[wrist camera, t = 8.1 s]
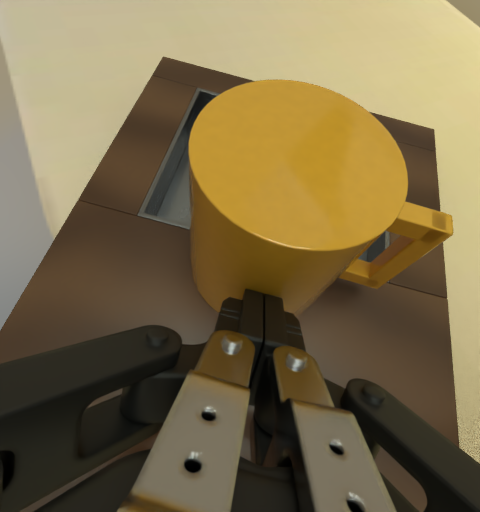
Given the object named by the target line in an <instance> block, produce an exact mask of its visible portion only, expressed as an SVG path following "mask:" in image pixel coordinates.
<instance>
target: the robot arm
mask: <svg viewBox="0 0 480 512" xmlns="http://www.w3.org/2000/svg"><path fill="white" fill-rule="evenodd" d="M122 388H123V389H122ZM119 389H122V394H120V395H118V396H115V397H113V398H110V399H108V400H106V401H103V402H101V403H99V404H96V405H94V406H91V407H89V408H87V407H88V406H89V405H90V404H91V403H92V402H93V401H94V400H96V399H98V398H100V397H102V396H104V395H107V394H109V393H112V392H114V391H117V390H119ZM248 405H251V406H254V413H253V416H252V419H251V422H250V427H249V430H250V456H251V461H249V460H247V459H245V458H243V457H241V456H240V451H241V445H242V439H243V433H244V427H245V421H246V415H247V409H248ZM86 408H87V409H86ZM160 429H161V430H160ZM159 430H160V432H159V434H158V436H157V439H156V441H155V443H154V445H153V447H152V449H148V450H143V451H139V452H136V453H133V454H130V455H127V456H125V457H123V458H120V459H118V460H116V461H114V462H113V463H111V464H109V465H107V466H106V467H104V468H103V469H101V470H99V471H98V472H96V473H95V474H93V475H91V476H90V477H88V478H87V479H85V480H83V481H82V482H80V483H78V484H77V485H75V486H74V487H72V488H70V489H69V490H67V491H66V492H64V493H62V494H61V495H59V496H58V497H56V498H54V499H53V500H51V501H50V502H48V503H46V504H45V505H43V506H41V507H40V508H38V509H37V510H35V511H33V512H420V511H419V510H417V509H416V508H415V507H414V506H413V505H412V504H411V503H410V502H409V501H408V500H407V499H406V498H405V497H404V496H403V495H402V494H401V493H400V492H399V491H398V490H397V489H396V487H395V486H394V485H393V484H392V483H391V482H390V481H389V480H388V479H387V478H386V477H385V476H384V475H383V474H382V473H381V472H380V471H379V470H378V468H377V466H376V464H375V461H374V460H375V458H376V456H377V454H378V452H379V450H380V448H381V447H382V448H383V449H384V450H385V451H386V452H387V453H388V454H389V455H390V456H391V457H392V458H393V459H395V460H396V461H397V462H398V463H399V464H400V465H401V466H402V467H403V468H404V469H405V470H406V471H407V472H408V473H409V474H410V475H411V476H412V477H414V478H415V479H416V480H417V481H418V482H419V484H420V485H421V486H422V488H423V489H424V492H425V494H426V497H427V506H426V508H425V510H424V511H423V512H480V464H479V463H478V462H477V461H475V460H474V459H473V458H472V457H470V456H469V455H468V454H467V453H465V452H464V451H463V450H461V449H460V448H459V447H458V446H456V445H455V444H454V443H453V442H451V441H450V440H449V439H447V438H446V437H445V436H444V435H442V434H441V433H440V432H439V431H437V430H436V429H435V428H433V427H432V426H431V425H430V424H428V423H427V422H426V421H425V420H423V419H422V418H421V417H420V416H418V415H417V414H416V413H414V412H413V411H412V410H411V409H409V408H408V407H407V406H406V405H404V404H403V403H402V402H400V401H399V400H398V399H397V398H395V397H394V396H393V395H392V394H390V393H389V392H388V391H386V390H385V389H384V388H382V387H381V386H379V385H377V384H375V383H373V382H371V381H368V380H365V379H360V378H354V379H351V380H349V381H348V383H347V385H346V388H344V387H341V386H339V385H337V384H335V383H333V382H331V381H329V380H327V379H325V378H324V377H323V375H322V373H321V370H320V367H319V365H318V363H317V361H316V360H315V359H314V358H313V357H312V356H311V355H310V354H308V353H307V352H306V349H305V344H304V340H303V336H302V331H301V326H300V322H299V320H298V319H297V318H296V317H295V315H294V314H293V313H290V312H286V311H284V305H283V299H282V298H280V297H276V296H272V295H269V294H264V295H263V293H261V292H257V291H253V290H249V289H245V291H244V294H243V298H242V300H240V299H236V298H232V297H228V298H227V299H225V300H224V301H223V302H222V305H221V309H220V312H219V316H218V319H217V323H216V326H215V330H214V333H212V334H211V335H210V337H209V339H208V341H207V342H205V343H202V344H195V345H187V344H182V338H181V336H180V335H179V334H178V333H177V332H176V331H174V330H173V329H171V328H168V327H165V326H161V325H145V326H141V327H137V328H134V329H130V330H126V331H122V332H118V333H115V334H111V335H107V336H103V337H99V338H96V339H92V340H88V341H84V342H80V343H77V344H73V345H69V346H65V347H61V348H58V349H54V350H50V351H46V352H43V353H39V354H35V355H31V356H27V357H24V358H20V359H16V360H12V361H8V362H5V363H1V364H0V512H19V511H21V510H23V509H24V508H26V507H28V506H30V505H31V504H33V503H35V502H37V501H38V500H40V499H42V498H44V497H45V496H47V495H49V494H51V493H52V492H54V491H56V490H58V489H59V488H61V487H63V486H65V485H67V484H68V483H70V482H72V481H74V480H75V479H77V478H79V477H81V476H82V475H84V474H86V473H88V472H89V471H91V470H93V469H95V468H96V467H98V466H100V465H102V464H103V463H105V462H107V461H109V460H110V459H112V458H114V457H116V456H117V455H119V454H121V453H123V452H124V451H126V450H128V449H130V448H131V447H133V446H135V445H137V444H138V443H140V442H142V441H144V440H145V439H147V438H149V437H151V436H153V435H154V434H156V433H157V432H158V431H159Z"/></svg>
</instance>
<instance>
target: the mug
mask: <svg viewBox="0 0 480 512" xmlns="http://www.w3.org/2000/svg"><path fill="white" fill-rule="evenodd" d="M188 158H189V203H190V248H191V270H192V275H193V279H194V282H195V284H196V287H197V289H198V291H199V292H200V294H201V295H202V297H203V298H204V299H205V301H206V302H207V303H208V304H209V305H210V306H211V307H212V308H213V309H214V310H215V311H217V312H218V313H219V312H220V309H221V305H222V302H223V301H224V300H225V299H227V298H228V297H232V298H236V299H240V300H242V298H243V294H244V291H245V289H249V290H253V291H257V292H261V293H263V295H264V294H269V295H272V296H276V297H280V298H282V299H283V305H284V311H286V312H290V313H293V314H294V315H295V317H298V316H299V315H301V314H302V313H303V312H304V311H305V310H306V309H307V308H308V307H310V306H311V305H312V304H313V303H314V302H315V301H316V300H317V299H318V298H319V297H320V296H321V295H322V294H323V293H324V292H325V291H326V290H327V289H328V288H329V287H330V286H331V285H332V284H333V283H334V282H335V281H336V280H337V279H338V278H341V279H344V280H348V281H351V282H355V283H358V284H361V285H365V286H368V287H371V288H375V289H378V288H380V287H381V286H382V285H384V284H385V283H387V282H388V281H389V280H391V279H392V278H393V277H395V276H396V275H398V274H399V273H400V272H402V271H403V270H405V269H406V268H407V267H409V266H410V265H411V264H413V263H414V262H416V261H417V260H418V259H420V258H421V257H423V256H424V255H425V254H427V253H428V252H430V251H431V250H432V249H434V248H435V247H436V246H438V245H439V244H441V243H442V242H443V241H445V240H446V239H448V238H449V237H450V236H452V235H453V220H452V216H451V215H449V214H446V213H443V212H440V211H436V210H433V209H429V208H426V207H423V206H419V205H416V204H412V203H409V202H406V201H405V200H406V197H407V191H408V173H407V168H406V164H405V160H404V158H403V155H402V153H401V150H400V149H399V147H398V145H397V143H396V141H395V140H394V138H393V137H392V136H391V134H390V133H389V131H388V130H387V129H386V128H385V127H384V126H383V125H382V123H381V122H380V121H378V120H377V119H376V118H375V117H374V116H373V115H372V114H371V113H369V112H368V111H367V110H366V109H364V108H363V107H362V106H360V105H358V104H357V103H355V102H354V101H352V100H350V99H348V98H347V97H345V96H343V95H341V94H339V93H336V92H334V91H332V90H329V89H326V88H323V87H320V86H317V85H313V84H309V83H305V82H299V81H293V80H261V81H254V82H249V83H245V84H242V85H239V86H236V87H233V88H231V89H229V90H227V91H224V92H223V93H221V94H220V95H218V96H216V97H215V98H214V99H213V100H211V101H210V102H209V103H208V104H207V105H206V106H205V107H204V108H203V110H202V111H201V112H200V113H199V115H198V117H197V118H196V120H195V122H194V124H193V127H192V129H191V132H190V137H189V143H188ZM385 231H388V232H392V233H395V234H398V235H401V236H400V237H398V238H397V239H396V240H395V241H394V242H393V243H392V244H391V245H390V246H388V247H387V248H386V249H385V250H384V251H383V252H382V253H381V254H380V255H378V256H377V257H376V258H375V259H374V260H373V261H372V262H371V263H370V262H366V261H363V260H360V259H358V258H359V257H360V256H361V255H362V254H363V253H364V252H365V251H366V250H367V249H368V248H369V247H370V246H371V245H372V244H373V243H374V242H375V241H376V240H377V239H378V238H379V237H380V236H381V235H382V234H383V233H384V232H385Z"/></svg>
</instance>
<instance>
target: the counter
mask: <svg viewBox="0 0 480 512" xmlns="http://www.w3.org/2000/svg"><path fill="white" fill-rule="evenodd" d="M249 82H254V81H252V80H248V79H245V78H241V77H237V76H234V75H230V74H226V73H222V72H219V71H215V70H211V69H208V68H204V67H200V66H196V65H193V64H189V63H185V62H182V61H178V60H174V59H170V58H167V57H163V58H162V60H161V61H160V63H159V65H158V66H157V68H156V70H155V71H154V73H153V75H152V77H151V78H150V80H149V82H148V83H147V85H146V87H145V88H144V90H143V92H142V93H141V95H140V97H139V98H138V100H137V102H136V103H135V105H134V107H133V108H132V110H131V112H130V114H129V115H128V117H127V119H126V120H125V122H124V124H123V125H122V127H121V129H120V130H119V132H118V134H117V135H116V137H115V139H114V140H113V142H112V144H111V145H110V147H109V149H108V150H107V152H106V154H105V156H104V157H103V159H102V161H101V162H100V164H99V166H98V167H97V169H96V171H95V172H94V174H93V176H92V177H91V179H90V181H89V182H88V184H87V186H86V187H85V189H84V191H83V193H82V194H81V196H80V198H79V201H77V203H76V204H75V206H74V208H73V209H72V211H71V213H70V214H69V216H68V218H67V220H66V221H65V223H64V225H63V226H62V228H61V230H60V231H59V233H58V235H57V236H56V238H55V240H54V241H53V243H52V245H51V247H50V248H49V250H48V252H47V253H46V255H45V256H44V259H43V260H42V262H41V263H40V265H39V267H38V268H37V270H36V272H35V273H34V275H33V277H32V279H31V280H30V282H29V283H28V285H27V287H26V288H25V290H24V292H23V293H22V295H21V297H20V299H19V300H18V302H17V304H16V305H15V307H14V309H13V310H12V312H11V314H10V315H9V317H8V319H7V320H6V322H5V324H4V326H3V327H2V329H1V331H0V364H1V363H5V362H8V361H12V360H16V359H20V358H24V357H27V356H31V355H35V354H39V353H43V352H46V351H50V350H54V349H58V348H61V347H65V346H69V345H73V344H77V343H80V342H84V341H88V340H92V339H96V338H99V337H103V336H107V335H111V334H115V333H118V332H122V331H126V330H130V329H134V328H137V327H141V326H145V325H161V326H165V327H168V328H171V329H173V330H174V331H176V332H177V333H178V334H179V335H180V336H181V338H182V344H187V345H195V344H202V343H205V342H207V341H208V339H209V337H210V335H211V334H212V333H214V330H215V326H216V323H217V319H218V316H219V313H218V312H217V311H215V310H214V309H213V308H212V307H211V306H210V305H209V304H208V303H207V302H206V301H205V299H204V298H203V297H202V295H201V294H200V292H199V291H198V289H197V287H196V284H195V282H194V279H193V275H192V270H191V248H190V230H187V229H184V228H180V227H176V226H172V225H169V224H165V223H161V222H157V221H154V220H150V219H146V218H142V217H139V216H137V214H138V212H139V210H140V208H141V206H142V204H143V202H144V200H145V197H146V195H147V193H148V191H149V189H150V187H151V185H152V183H153V180H154V178H155V176H156V174H157V172H158V170H159V168H160V166H161V164H162V161H163V159H164V157H165V155H166V153H167V151H168V149H169V147H170V144H171V142H172V140H173V138H174V136H175V134H176V132H177V130H178V127H179V125H180V123H181V121H182V119H183V117H184V115H185V113H186V110H187V108H188V106H189V104H190V102H191V100H192V98H193V96H194V93H195V91H196V89H197V88H201V89H205V90H208V91H212V92H216V93H219V94H221V93H223V92H224V91H227V90H229V89H231V88H233V87H236V86H239V85H242V84H245V83H249ZM369 113H371V112H369ZM371 114H372V115H373V116H374V117H375V118H376V119H377V120H378V121H380V122H381V123H382V125H383V126H384V127H385V128H386V129H387V130H388V131H389V133H390V134H391V136H392V137H393V138H394V140H395V141H396V143H397V145H398V147H399V149H400V150H401V153H402V155H403V158H404V160H405V164H406V168H407V173H408V191H407V197H406V200H405V201H406V202H409V203H412V204H416V205H419V206H423V207H426V208H429V209H433V210H436V211H440V200H439V187H438V175H437V162H436V147H435V135H434V129H431V128H427V127H423V126H419V125H416V124H412V123H408V122H405V121H401V120H397V119H393V118H390V117H386V116H382V115H379V114H375V113H371ZM400 236H401V235H398V234H395V233H392V232H390V245H391V244H392V243H393V242H394V241H395V240H396V239H397V238H398V237H400ZM296 318H297V319H298V320H299V322H300V326H301V331H302V336H303V340H304V344H305V349H306V352H307V353H308V354H310V355H311V356H312V357H313V358H314V359H315V360H316V361H317V363H318V365H319V367H320V370H321V373H322V375H323V377H324V378H325V379H327V380H329V381H331V382H333V383H335V384H337V385H339V386H341V387H344V388H346V385H347V383H348V381H349V380H351V379H354V378H360V379H365V380H368V381H371V382H373V383H375V384H377V385H379V386H381V387H382V388H384V389H385V390H386V391H388V392H389V393H390V394H392V395H393V396H394V397H395V398H397V399H398V400H399V401H400V402H402V403H403V404H404V405H406V406H407V407H408V408H409V409H411V410H412V411H413V412H414V413H416V414H417V415H418V416H420V417H421V418H422V419H423V420H425V421H426V422H427V423H428V424H430V425H431V426H432V427H433V428H435V429H436V430H437V431H439V432H440V433H441V434H442V435H444V436H445V437H446V438H447V439H449V440H450V441H451V442H453V443H454V444H455V445H456V446H458V447H459V437H458V425H457V412H456V400H455V387H454V374H453V362H452V349H451V337H450V324H449V312H448V300H447V288H446V275H445V263H444V250H443V242H442V243H441V244H439V245H438V246H436V247H435V248H434V249H432V250H431V251H430V252H428V253H427V254H425V255H424V256H423V257H421V258H420V259H418V260H417V261H416V262H414V263H413V264H411V265H410V266H409V267H407V268H406V269H405V270H403V271H402V272H400V273H399V274H398V275H396V276H395V277H393V278H392V279H391V280H389V283H385V284H384V285H382V286H381V287H380V288H378V289H375V288H371V287H368V286H365V285H361V284H358V283H355V282H351V281H348V280H344V279H341V278H338V279H337V280H336V281H335V282H334V283H333V284H332V285H331V286H330V287H329V288H328V289H327V290H326V291H325V292H324V293H323V294H322V295H321V296H320V297H319V298H318V299H317V300H316V301H315V302H314V303H313V304H312V305H311V306H310V307H308V308H307V309H306V310H305V311H304V312H303V313H302V314H301V315H299V316H298V317H296ZM122 389H123V388H122ZM122 389H119V390H117V391H114V392H112V393H109V394H107V395H104V396H102V397H100V398H98V399H96V400H94V401H93V402H92V403H91V404H90V405H89V406H88V407H87V408H89V407H91V406H94V405H96V404H99V403H101V402H103V401H106V400H108V399H110V398H113V397H115V396H118V395H120V394H122ZM87 408H86V409H87ZM253 413H254V406H251V405H248V409H247V415H246V421H245V427H244V433H243V439H242V445H241V451H240V456H241V457H243V458H245V459H247V460H249V461H251V456H250V430H249V427H250V422H251V419H252V416H253ZM160 430H161V429H160ZM160 430H159V431H158V432H157V433H156V434H154V435H153V436H151V437H149V438H147V439H145V440H144V441H142V442H140V443H138V444H137V445H135V446H133V447H131V448H130V449H128V450H126V451H124V452H123V453H121V454H119V455H117V456H116V457H114V458H112V459H110V460H109V461H107V462H105V463H103V464H102V465H100V466H98V467H96V468H95V469H93V470H91V471H89V472H88V473H86V474H84V475H82V476H81V477H79V478H77V479H75V480H74V481H72V482H70V483H68V484H67V485H65V486H63V487H61V488H59V489H58V490H56V491H54V492H52V493H51V494H49V495H47V496H45V497H44V498H42V499H40V500H38V501H37V502H35V503H33V504H31V505H30V506H28V507H26V508H24V509H23V510H21V511H19V512H33V511H35V510H37V509H38V508H40V507H41V506H43V505H45V504H46V503H48V502H50V501H51V500H53V499H54V498H56V497H58V496H59V495H61V494H62V493H64V492H66V491H67V490H69V489H70V488H72V487H74V486H75V485H77V484H78V483H80V482H82V481H83V480H85V479H87V478H88V477H90V476H91V475H93V474H95V473H96V472H98V471H99V470H101V469H103V468H104V467H106V466H107V465H109V464H111V463H113V462H114V461H116V460H118V459H120V458H123V457H125V456H127V455H130V454H133V453H136V452H139V451H143V450H148V449H152V447H153V445H154V443H155V441H156V439H157V436H158V434H159V432H160ZM374 461H375V464H376V466H377V468H378V470H379V471H380V472H381V473H382V474H383V475H384V476H385V477H386V478H387V479H388V480H389V481H390V482H391V483H392V484H393V485H394V486H395V487H396V489H397V490H398V491H399V492H400V493H401V494H402V495H403V496H404V497H405V498H406V499H407V500H408V501H409V502H410V503H411V504H412V505H413V506H414V507H415V508H416V509H417V510H419V511H420V512H423V511H424V510H425V508H426V506H427V497H426V494H425V492H424V489H423V488H422V486H421V485H420V484H419V482H418V481H417V480H416V479H415V478H414V477H412V476H411V475H410V474H409V473H408V472H407V471H406V470H405V469H404V468H403V467H402V466H401V465H400V464H399V463H398V462H397V461H396V460H395V459H393V458H392V457H391V456H390V455H389V454H388V453H387V452H386V451H385V450H384V449H383V448H382V447H381V448H380V450H379V452H378V454H377V456H376V458H375V460H374Z"/></svg>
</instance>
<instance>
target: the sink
mask: <svg viewBox="0 0 480 512" xmlns="http://www.w3.org/2000/svg"><path fill="white" fill-rule="evenodd" d="M218 95H220V94H219V93H216V92H212V91H208V90H205V89H201V88H197V89H196V91H195V93H194V96H193V98H192V100H191V102H190V104H189V106H188V108H187V110H186V113H185V115H184V117H183V119H182V121H181V123H180V125H179V127H178V130H177V132H176V134H175V136H174V138H173V140H172V142H171V144H170V147H169V149H168V151H167V153H166V155H165V157H164V159H163V161H162V164H161V166H160V168H159V170H158V172H157V174H156V176H155V178H154V180H153V183H152V185H151V187H150V189H149V191H148V193H147V195H146V197H145V200H144V202H143V204H142V206H141V208H140V210H139V212H138V214H137V216H139V217H142V218H146V219H150V220H154V221H157V222H161V223H165V224H169V225H172V226H176V227H180V228H184V229H187V230H190V203H189V158H188V143H189V137H190V132H191V129H192V127H193V124H194V122H195V120H196V118H197V117H198V115H199V113H200V112H201V111H202V110H203V108H204V107H205V106H206V105H207V104H208V103H209V102H210V101H211V100H213V99H214V98H215V97H216V96H218ZM388 246H390V232H388V231H385V232H384V233H383V234H382V235H381V236H380V237H379V238H378V239H377V240H376V241H375V242H374V243H373V244H372V245H371V246H370V247H369V248H368V249H367V250H366V251H365V252H364V253H363V254H362V255H361V256H360V257H359V258H358V259H360V260H363V261H366V262H370V263H371V262H372V261H373V260H374V259H375V258H376V257H377V256H378V255H380V254H381V253H382V252H383V251H384V250H385V249H386V248H387V247H388ZM387 283H389V281H388V282H387Z"/></svg>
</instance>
